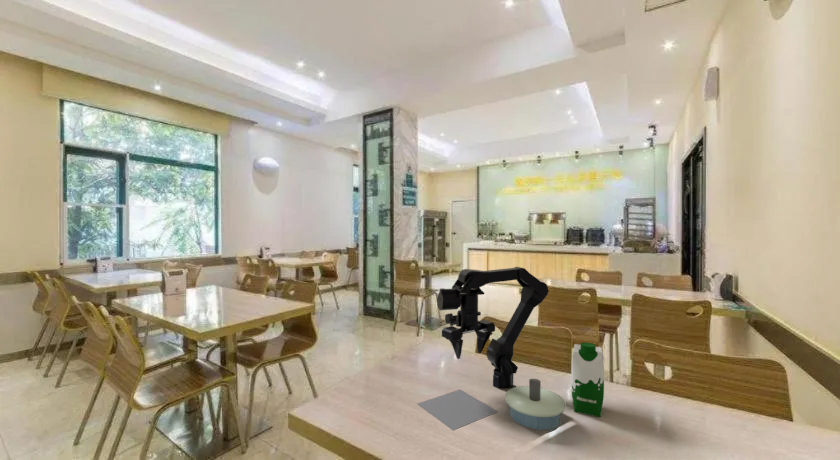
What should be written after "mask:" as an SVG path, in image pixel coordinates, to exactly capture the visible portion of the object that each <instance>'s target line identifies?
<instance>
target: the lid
mask: <svg viewBox="0 0 840 460" xmlns="http://www.w3.org/2000/svg"><path fill="white" fill-rule="evenodd" d="M528 381H529V382H528V383H529V384H528V385H521V386H520V385H519V386H517V387H514V388H512V389H511V388H509V389H508V390H507V391H506V392H505V402H506V404H507V405H508V406H509V408H510V407H511V408H513V409H514V410H516V411H518V412H520V413H523V414H526V415H530V416H535V417H553V416H557V415H560V416H561V414H563V413H564V412H565V410H566V401H565V399H564V398H563V397H562V396H561V395H560V394H558V393H557V392H555V391H553V390H550V389H547V388H543V387H542V385H541V380H539V379H538V378H530V379H528Z"/></svg>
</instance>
